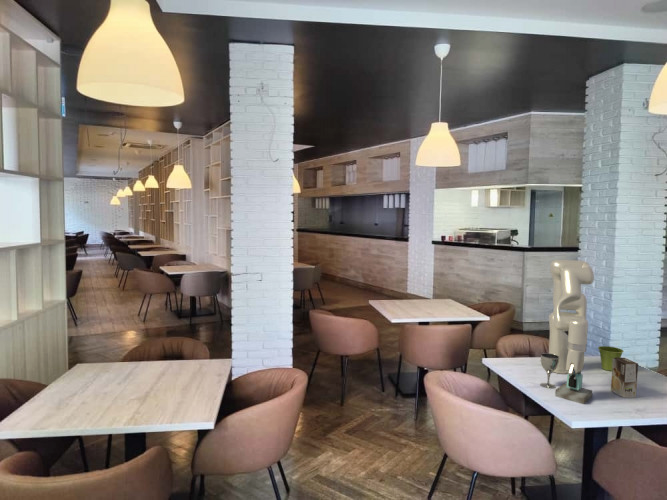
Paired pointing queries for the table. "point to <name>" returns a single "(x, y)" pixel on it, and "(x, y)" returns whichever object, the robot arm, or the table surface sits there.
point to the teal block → (579, 381)
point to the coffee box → (624, 377)
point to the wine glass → (549, 367)
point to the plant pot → (609, 356)
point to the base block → (573, 394)
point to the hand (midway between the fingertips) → (574, 385)
